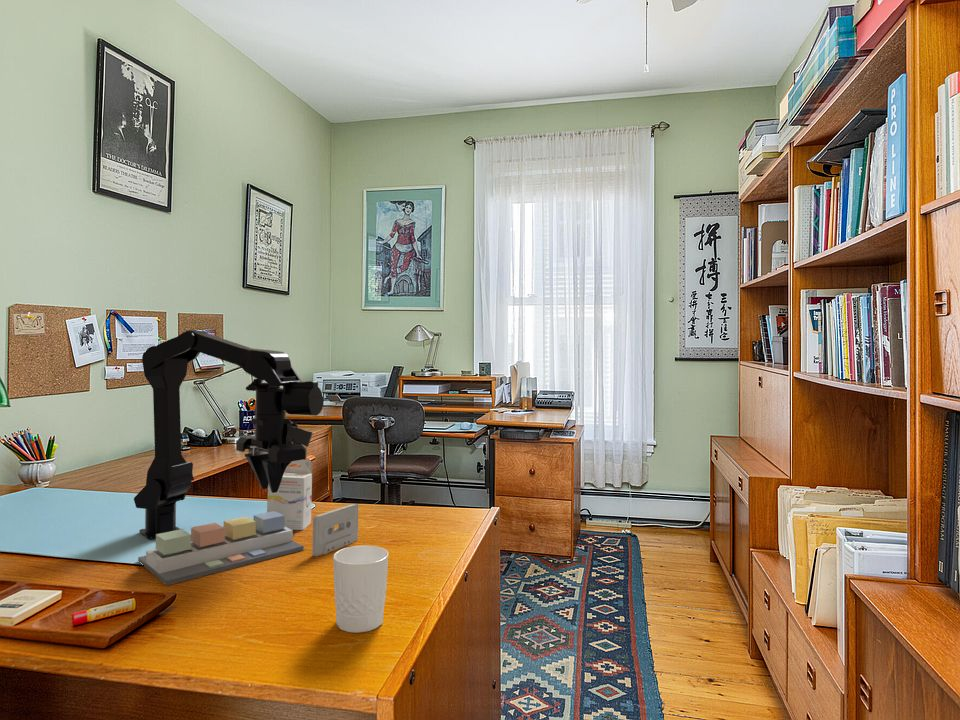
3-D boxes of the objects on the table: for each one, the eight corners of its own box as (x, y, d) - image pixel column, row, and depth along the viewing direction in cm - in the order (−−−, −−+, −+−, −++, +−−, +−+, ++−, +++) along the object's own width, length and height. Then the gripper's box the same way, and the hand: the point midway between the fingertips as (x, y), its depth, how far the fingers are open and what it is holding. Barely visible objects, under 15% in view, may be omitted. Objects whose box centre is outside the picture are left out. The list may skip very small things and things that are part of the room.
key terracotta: (190, 541, 108) (191, 527, 108) (215, 536, 111) (215, 522, 111) (200, 547, 105) (200, 532, 105) (224, 541, 108) (224, 527, 108)
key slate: (253, 527, 117) (253, 515, 117) (274, 523, 120) (274, 510, 120) (263, 532, 114) (263, 519, 114) (284, 528, 117) (284, 515, 117)
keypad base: (138, 561, 106) (138, 545, 106) (267, 532, 124) (267, 518, 124) (166, 585, 96) (166, 567, 96) (303, 550, 114) (303, 534, 114)
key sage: (155, 548, 104) (155, 534, 104) (181, 543, 107) (181, 529, 107) (164, 555, 101) (164, 540, 100) (190, 549, 104) (191, 534, 104)
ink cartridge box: (265, 528, 127) (266, 462, 127) (275, 522, 132) (276, 458, 132) (303, 530, 126) (304, 463, 126) (311, 524, 131) (313, 459, 131)
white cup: (337, 610, 88) (338, 545, 88) (389, 609, 89) (390, 545, 89) (327, 636, 80) (328, 564, 80) (385, 634, 81) (386, 563, 81)
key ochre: (223, 534, 112) (223, 520, 112) (245, 529, 115) (245, 516, 115) (233, 539, 109) (233, 526, 109) (255, 534, 112) (255, 521, 112)
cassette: (317, 557, 110) (317, 517, 110) (310, 555, 111) (310, 516, 111) (359, 540, 121) (360, 504, 121) (353, 539, 122) (353, 502, 122)
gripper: (330, 414, 116) (329, 492, 116) (285, 407, 129) (284, 477, 129) (278, 418, 108) (277, 502, 108) (235, 410, 121) (234, 485, 121)
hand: (269, 490), depth 117 cm, fingers open, 4 cm apart
